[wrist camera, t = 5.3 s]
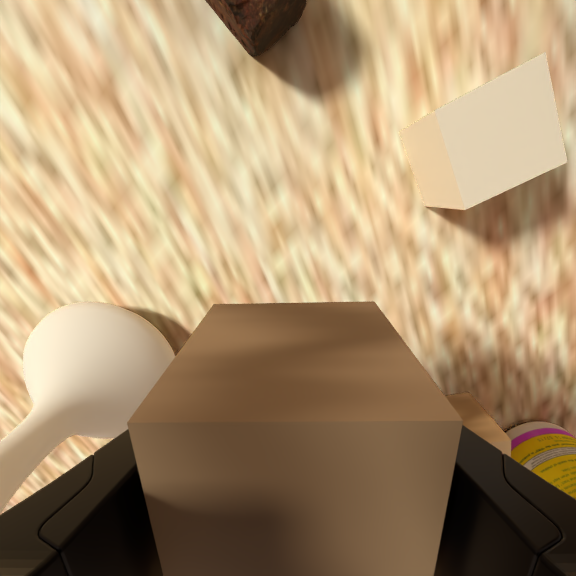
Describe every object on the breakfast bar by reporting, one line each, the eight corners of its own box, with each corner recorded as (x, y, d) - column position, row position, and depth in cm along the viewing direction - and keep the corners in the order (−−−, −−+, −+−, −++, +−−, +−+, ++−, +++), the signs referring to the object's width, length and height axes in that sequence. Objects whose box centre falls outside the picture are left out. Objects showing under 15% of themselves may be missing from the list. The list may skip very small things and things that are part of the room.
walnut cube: (374, 301, 9) (463, 420, 4) (365, 431, 11) (424, 625, 6) (214, 304, 9) (127, 423, 4) (227, 432, 11) (174, 623, 6)
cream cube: (477, 90, 18) (545, 51, 13) (498, 170, 19) (567, 162, 14) (398, 132, 18) (434, 110, 14) (423, 206, 20) (465, 210, 15)
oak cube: (468, 391, 24) (511, 440, 19) (469, 439, 25) (509, 495, 21) (406, 400, 24) (433, 450, 20) (410, 447, 26) (437, 504, 21)
